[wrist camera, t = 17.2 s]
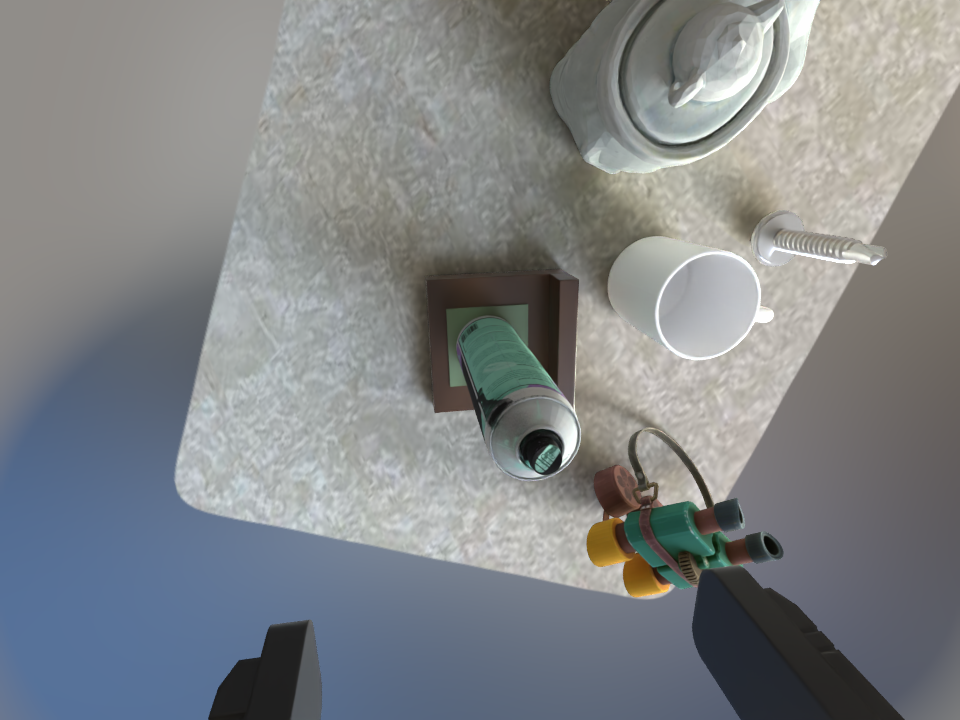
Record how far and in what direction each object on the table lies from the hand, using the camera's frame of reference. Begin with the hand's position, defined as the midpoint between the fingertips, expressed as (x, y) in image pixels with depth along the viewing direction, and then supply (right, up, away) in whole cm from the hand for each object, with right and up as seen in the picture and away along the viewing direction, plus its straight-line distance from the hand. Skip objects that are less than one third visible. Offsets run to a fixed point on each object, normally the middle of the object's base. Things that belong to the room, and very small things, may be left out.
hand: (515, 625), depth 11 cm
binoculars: (+15, -8, +45) cm, 48 cm away
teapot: (+12, +29, +32) cm, 45 cm away
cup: (+16, +12, +39) cm, 44 cm away
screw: (+25, +17, +38) cm, 49 cm away
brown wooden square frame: (+1, +7, +38) cm, 38 cm away
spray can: (0, +7, +36) cm, 36 cm away
